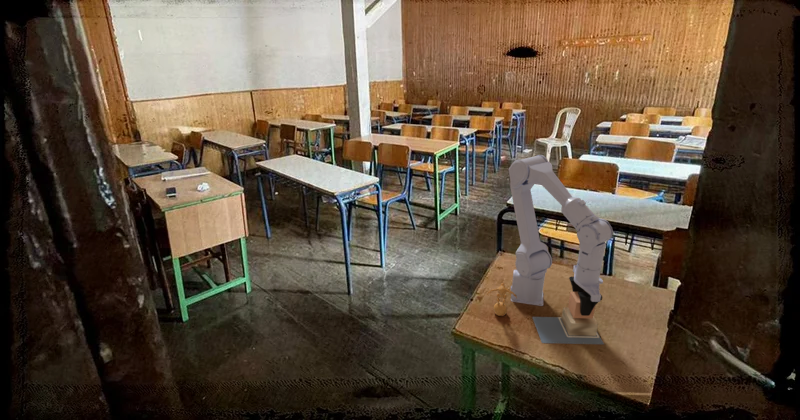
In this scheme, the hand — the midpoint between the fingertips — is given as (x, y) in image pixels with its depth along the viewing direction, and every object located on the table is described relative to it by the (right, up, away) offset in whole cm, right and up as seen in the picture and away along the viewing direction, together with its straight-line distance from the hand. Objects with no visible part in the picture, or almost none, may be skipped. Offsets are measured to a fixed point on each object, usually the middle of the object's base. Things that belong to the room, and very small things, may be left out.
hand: (581, 308), depth 112 cm
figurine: (-20, -5, +8) cm, 22 cm away
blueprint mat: (-3, -7, +2) cm, 8 cm away
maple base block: (0, -6, +2) cm, 6 cm away
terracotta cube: (0, -1, +1) cm, 1 cm away
